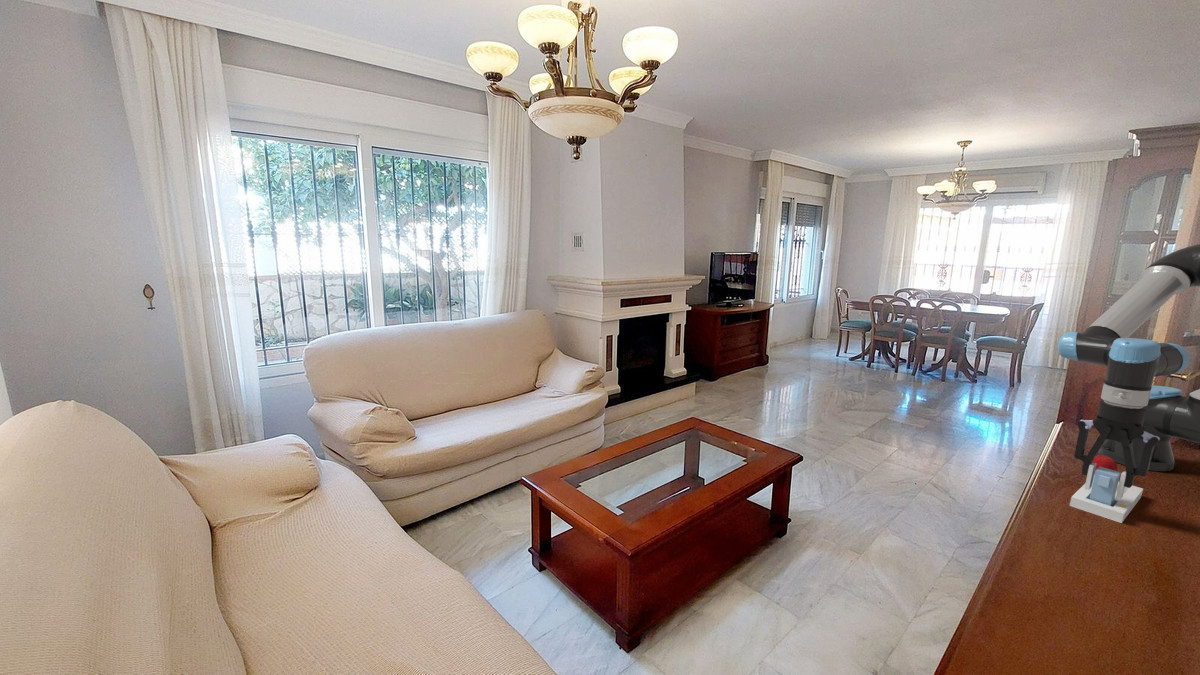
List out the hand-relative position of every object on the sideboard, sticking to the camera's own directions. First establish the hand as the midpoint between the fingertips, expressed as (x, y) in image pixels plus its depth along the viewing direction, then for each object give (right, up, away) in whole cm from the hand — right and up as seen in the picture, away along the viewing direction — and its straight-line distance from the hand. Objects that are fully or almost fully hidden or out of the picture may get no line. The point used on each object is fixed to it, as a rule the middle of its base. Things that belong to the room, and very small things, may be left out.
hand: (1103, 492), depth 116 cm
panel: (+5, -4, +4) cm, 7 cm away
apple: (+17, -1, +17) cm, 24 cm away
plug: (0, -4, +1) cm, 4 cm away
